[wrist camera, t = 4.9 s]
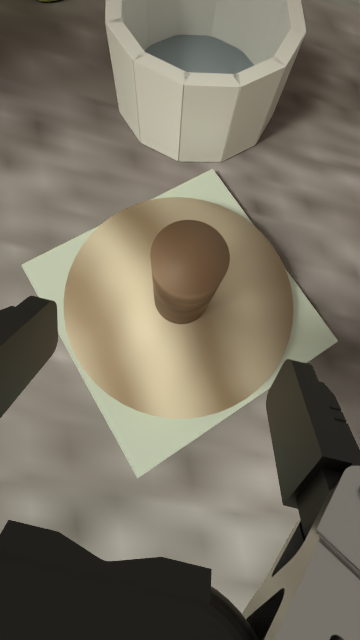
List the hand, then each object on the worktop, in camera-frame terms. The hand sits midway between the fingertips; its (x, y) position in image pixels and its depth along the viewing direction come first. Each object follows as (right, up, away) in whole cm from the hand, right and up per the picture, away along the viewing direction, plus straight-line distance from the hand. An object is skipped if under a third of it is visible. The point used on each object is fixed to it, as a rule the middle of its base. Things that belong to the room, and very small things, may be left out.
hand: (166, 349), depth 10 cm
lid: (0, +2, +10) cm, 10 cm away
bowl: (+2, +20, +15) cm, 25 cm away
